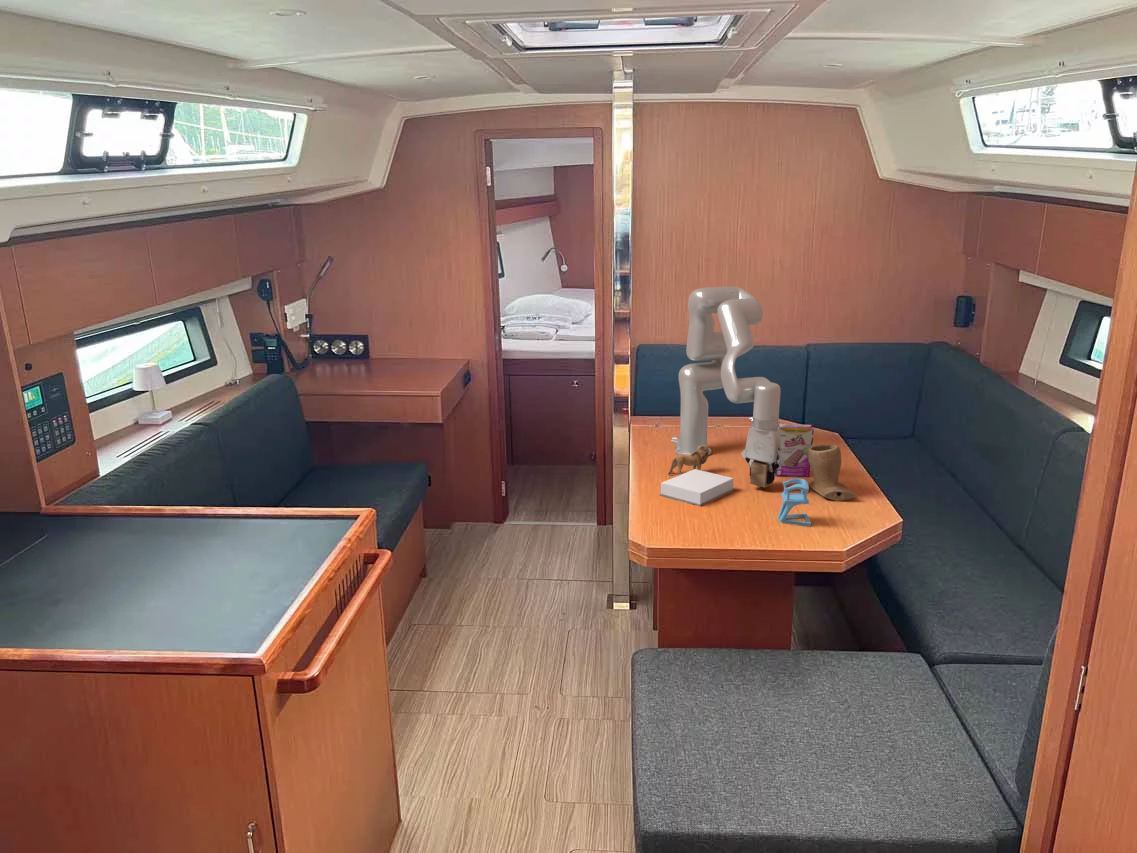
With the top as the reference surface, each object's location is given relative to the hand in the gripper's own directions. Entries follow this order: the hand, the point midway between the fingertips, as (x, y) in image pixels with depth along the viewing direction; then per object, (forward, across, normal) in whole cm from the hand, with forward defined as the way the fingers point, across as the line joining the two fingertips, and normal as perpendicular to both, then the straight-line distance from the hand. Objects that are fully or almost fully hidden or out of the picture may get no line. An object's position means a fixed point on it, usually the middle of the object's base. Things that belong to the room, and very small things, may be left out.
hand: (761, 480), depth 263 cm
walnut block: (+1, 0, 0) cm, 1 cm away
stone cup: (+3, +17, +9) cm, 20 cm away
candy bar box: (+3, 0, +19) cm, 19 cm away
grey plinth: (+3, -13, -16) cm, 21 cm away
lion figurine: (+3, -26, -2) cm, 26 cm away
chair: (+3, +20, -18) cm, 27 cm away
